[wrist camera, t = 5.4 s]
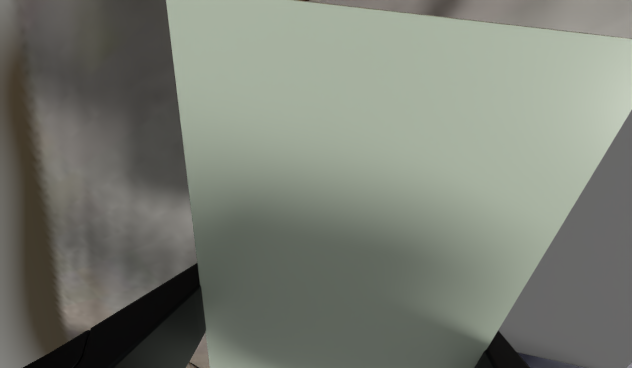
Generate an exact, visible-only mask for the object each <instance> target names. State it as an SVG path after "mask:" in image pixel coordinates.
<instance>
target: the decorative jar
mask: <svg viewBox="0 0 632 368" xmlns="http://www.w3.org/2000/svg"><path fill="white" fill-rule="evenodd" d="M186 368H197V367H195V366H194V365H192V364H191V363H188V365H187V367H186Z"/></svg>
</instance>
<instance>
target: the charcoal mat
mask: <svg viewBox="0 0 632 368" xmlns="http://www.w3.org/2000/svg"><path fill="white" fill-rule="evenodd" d="M499 331H500V333H501V334H502V335H503V336H504V337H505V339H506V340H507V341H508V342H509V343H510V345H511V346H512V347H513V348H514V349H515V351H516V352H518V353H523V354H527V355H532V356H536V357H541V358H545V359H550V360H554V361H558V362H563V363H567V364H572V365H576V366H581V367H585V368H626V367H627V366H628V365H630V364H631V363H632V110H631V112H630V113H629V115H628V117H627V118H626V120H625V122H624V123H623V125H622V127H621V128H620V130H619V132H618V133H617V135H616V137H615V138H614V140H613V141H612V143H611V145H610V146H609V148H608V150H607V151H606V153H605V155H604V156H603V158H602V160H601V161H600V163H599V165H598V166H597V168H596V170H595V171H594V173H593V174H592V176H591V178H590V179H589V181H588V183H587V184H586V186H585V188H584V189H583V191H582V193H581V194H580V196H579V198H578V199H577V201H576V203H575V204H574V206H573V208H572V209H571V211H570V212H569V214H568V216H567V217H566V219H565V221H564V222H563V224H562V226H561V227H560V229H559V231H558V232H557V234H556V236H555V237H554V239H553V241H552V242H551V244H550V245H549V247H548V249H547V250H546V252H545V254H544V255H543V257H542V259H541V260H540V262H539V264H538V265H537V267H536V269H535V270H534V272H533V274H532V275H531V277H530V279H529V280H528V282H527V283H526V285H525V287H524V288H523V290H522V292H521V293H520V295H519V297H518V298H517V300H516V302H515V303H514V305H513V307H512V308H511V310H510V312H509V313H508V315H507V316H506V318H505V320H504V321H503V323H502V325H501V326H500V328H499Z"/></svg>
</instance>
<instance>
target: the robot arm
mask: <svg viewBox="0 0 632 368" xmlns="http://www.w3.org/2000/svg"><path fill="white" fill-rule="evenodd" d="M205 331H206V323H205V315H204V307H203V298H202V290H201V285H200V280H199V272H198V264H197V263H196V264H195V265H193V266H191V267H190V268H188V269H187V270H185V271H183V272H182V273H180V274H178V275H177V276H175V277H174V278H172V279H170V280H169V281H167V282H165V283H164V284H162V285H160V286H159V287H157V288H156V289H154V290H152V291H151V292H149V293H147V294H146V295H144V296H143V297H141V298H139V299H138V300H136V301H134V302H133V303H131V304H130V305H128V306H126V307H125V308H123V309H121V310H120V311H118V312H116V313H115V314H113V315H112V316H110V317H108V318H107V319H105V320H103V321H102V322H100V323H99V324H97V325H95V326H94V327H92V328H91V329H90V330H87V331H85V332H84V333H82V334H80V335H79V336H77V337H75V338H74V339H72V340H71V341H69V342H67V343H65V344H64V345H62V346H60V347H59V348H57V349H55V350H54V351H52V352H50V353H49V354H47V355H45V356H43V357H41V358H40V359H38V360H36V361H34V362H32V363H30V364H29V365H27V366H25V367H23V368H186V367H187V365H188V363H189V361H190V359H191V358H192V356H193V354H194V352H195V350H196V348H197V347H198V345H199V343H200V341H201V339H202V337H203V335H204V333H205ZM474 368H530V367H529V366H528V365H527V364H526V363H525V361H524V360H523V359H522V358H521V357H520V355H519V354H518V353H517V352H516V351H515V349H514V348H513V347H512V346H511V345H510V343H509V342H508V341H507V340H506V339H505V337H504V336H503V335H502V334H501V333H500V331H499V330H498V331H497V333H496V335H495V336H494V338H493V340H492V341H491V343H490V345H489V346H488V348H487V350H485V351H484V352H483V354H482V356H481V357H480V359H479V361H478V362H477V364H476V366H475V367H474Z"/></svg>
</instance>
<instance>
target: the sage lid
mask: <svg viewBox="0 0 632 368" xmlns="http://www.w3.org/2000/svg"><path fill="white" fill-rule="evenodd" d="M166 4H167V13H168V21H169V29H170V38H171V46H172V54H173V63H174V71H175V80H176V88H177V96H178V105H179V113H180V121H181V130H182V138H183V146H184V155H185V163H186V172H187V180H188V188H189V197H190V205H191V213H192V222H193V230H194V238H195V247H196V255H197V264H198V272H199V280H200V285H201V290H202V298H203V307H204V315H205V323H206V339H207V347H208V356H209V364H210V368H474V367H475V366H476V364H477V362H478V361H479V359H480V357H481V356H482V354H483V352H484V351H485V350H487V348H488V346H489V345H490V343H491V341H492V340H493V338H494V336H495V335H496V333H497V331H498V330H499V328H500V326H501V325H502V323H503V321H504V320H505V318H506V316H507V315H508V313H509V312H510V310H511V308H512V307H513V305H514V303H515V302H516V300H517V298H518V297H519V295H520V293H521V292H522V290H523V288H524V287H525V285H526V283H527V282H528V280H529V279H530V277H531V275H532V274H533V272H534V270H535V269H536V267H537V265H538V264H539V262H540V260H541V259H542V257H543V255H544V254H545V252H546V250H547V249H548V247H549V245H550V244H551V242H552V241H553V239H554V237H555V236H556V234H557V232H558V231H559V229H560V227H561V226H562V224H563V222H564V221H565V219H566V217H567V216H568V214H569V212H570V211H571V209H572V208H573V206H574V204H575V203H576V201H577V199H578V198H579V196H580V194H581V193H582V191H583V189H584V188H585V186H586V184H587V183H588V181H589V179H590V178H591V176H592V174H593V173H594V171H595V170H596V168H597V166H598V165H599V163H600V161H601V160H602V158H603V156H604V155H605V153H606V151H607V150H608V148H609V146H610V145H611V143H612V141H613V140H614V138H615V137H616V135H617V133H618V132H619V130H620V128H621V127H622V125H623V123H624V122H625V120H626V118H627V117H628V115H629V113H630V112H631V110H632V39H630V38H622V37H614V36H605V35H597V34H589V33H581V32H572V31H563V30H554V29H546V28H537V27H528V26H519V25H510V24H502V23H493V22H484V21H475V20H467V19H458V18H449V17H440V16H431V15H423V14H414V13H405V12H396V11H388V10H379V9H370V8H361V7H352V6H344V5H335V4H326V3H317V2H309V1H300V0H166Z"/></svg>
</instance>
